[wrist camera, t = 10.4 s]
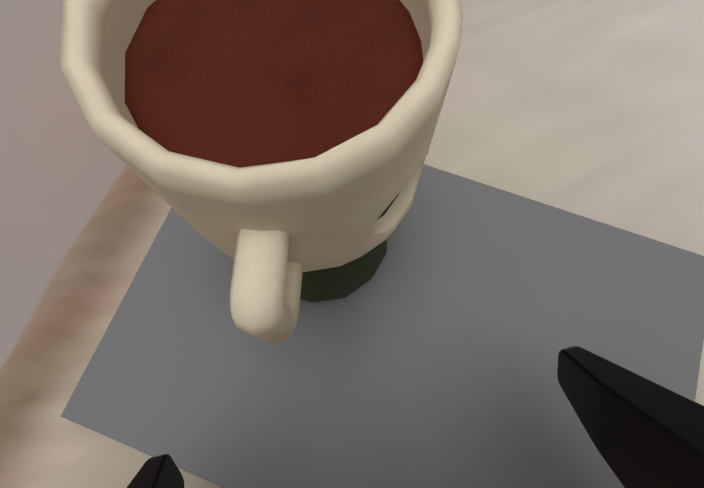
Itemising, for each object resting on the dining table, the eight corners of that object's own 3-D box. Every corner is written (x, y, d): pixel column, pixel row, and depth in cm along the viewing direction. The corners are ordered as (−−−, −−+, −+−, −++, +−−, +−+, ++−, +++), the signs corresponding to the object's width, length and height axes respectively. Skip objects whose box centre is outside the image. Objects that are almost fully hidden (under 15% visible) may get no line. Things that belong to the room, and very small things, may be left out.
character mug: (394, 364, 18) (475, 333, 6) (226, 355, 19) (-37, 307, 6) (399, 135, 22) (459, -195, 9) (255, 129, 22) (122, -204, 9)
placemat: (704, 263, 20) (714, 259, 20) (645, 665, 16) (656, 677, 15) (231, 107, 23) (228, 100, 22) (70, 414, 18) (60, 416, 18)
